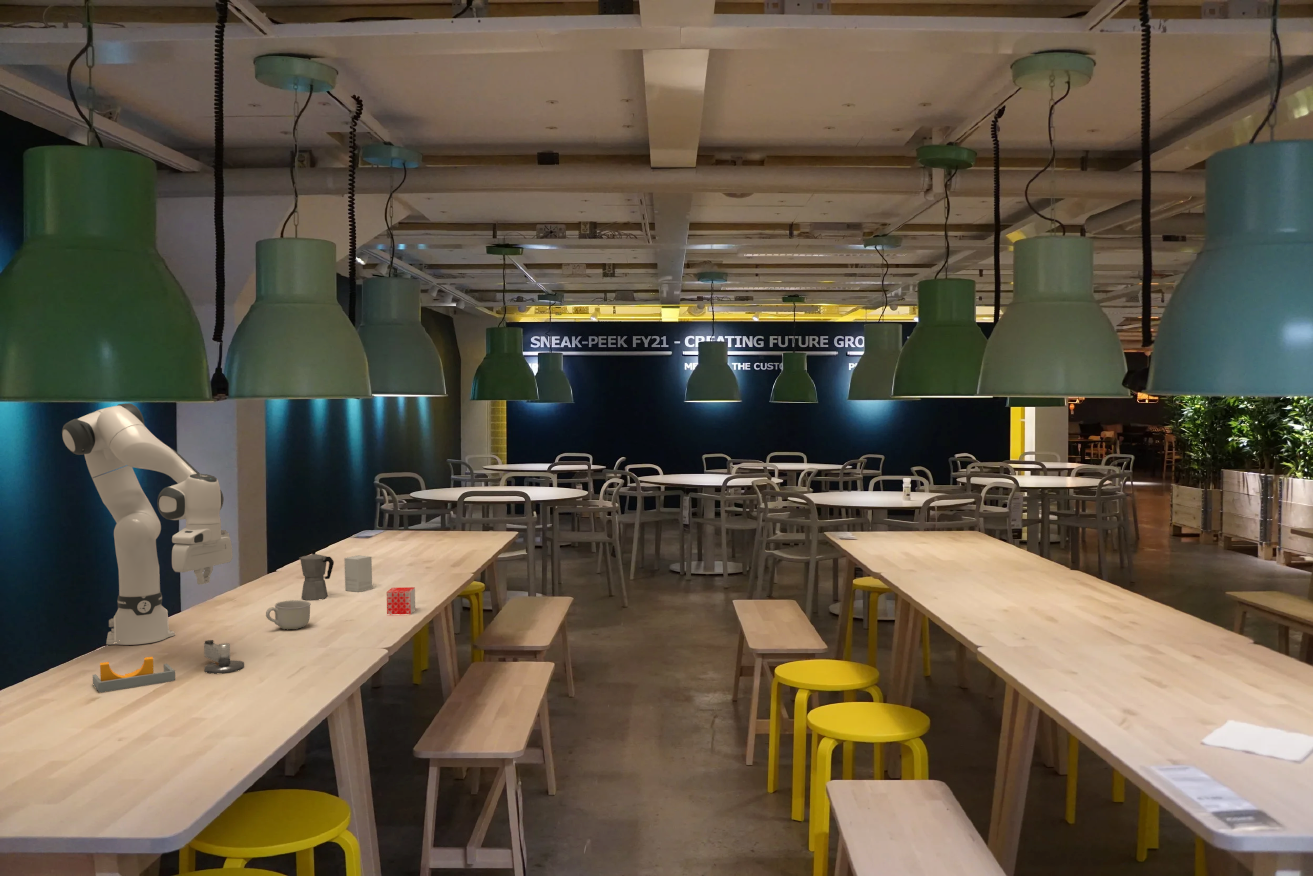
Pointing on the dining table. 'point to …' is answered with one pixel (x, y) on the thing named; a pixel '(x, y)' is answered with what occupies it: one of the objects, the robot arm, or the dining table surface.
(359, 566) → the supplement box
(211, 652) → the crank
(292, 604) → the teacup
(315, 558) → the coffeepot
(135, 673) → the pipe clamp
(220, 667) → the crank base
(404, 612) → the puzzle cube
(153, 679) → the bay
